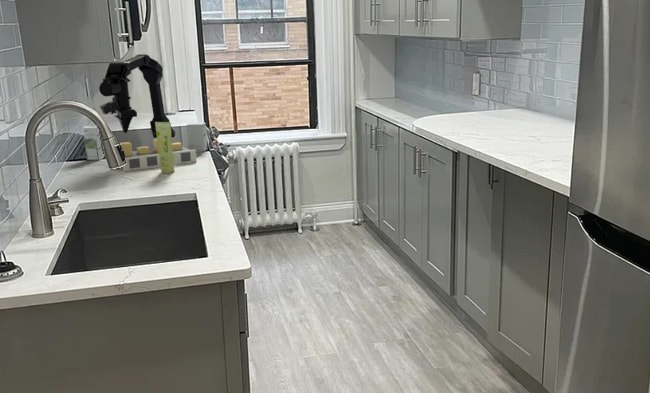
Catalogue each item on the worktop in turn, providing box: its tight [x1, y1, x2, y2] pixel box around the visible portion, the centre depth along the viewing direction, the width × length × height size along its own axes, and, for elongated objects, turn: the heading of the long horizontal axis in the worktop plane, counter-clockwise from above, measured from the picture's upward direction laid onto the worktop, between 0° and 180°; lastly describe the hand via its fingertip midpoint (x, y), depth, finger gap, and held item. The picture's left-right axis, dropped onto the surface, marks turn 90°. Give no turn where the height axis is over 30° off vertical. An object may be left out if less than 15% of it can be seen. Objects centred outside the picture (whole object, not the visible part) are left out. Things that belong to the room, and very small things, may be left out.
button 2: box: [152, 138, 159, 153], centre depth 258 cm, size 4×4×6 cm
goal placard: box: [122, 150, 197, 172], centre depth 248 cm, size 1×30×5 cm, turn 121°
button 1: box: [172, 142, 183, 151], centre depth 262 cm, size 4×4×6 cm
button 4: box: [119, 141, 133, 157], centre depth 251 cm, size 4×4×6 cm
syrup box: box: [82, 125, 105, 161], centre depth 263 cm, size 6×6×14 cm
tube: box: [155, 122, 175, 174], centre depth 236 cm, size 6×5×20 cm
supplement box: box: [186, 121, 208, 153], centre depth 277 cm, size 7×7×13 cm
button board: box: [120, 145, 190, 170], centre depth 257 cm, size 14×30×4 cm, turn 122°
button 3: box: [136, 145, 150, 155], centre depth 255 cm, size 4×4×6 cm
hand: (125, 132), depth 249 cm, fingers closed
